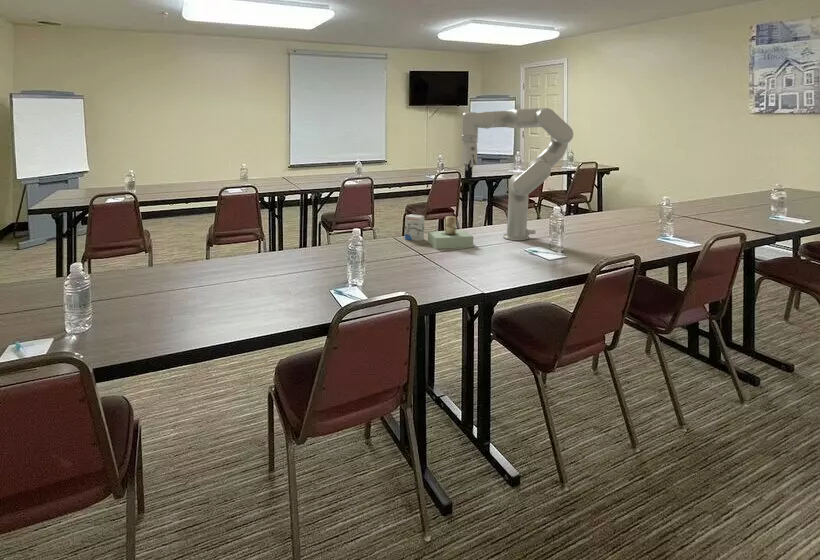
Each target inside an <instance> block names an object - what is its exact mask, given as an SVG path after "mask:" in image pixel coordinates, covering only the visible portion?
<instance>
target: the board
mask: <svg viewBox="0 0 820 560" xmlns="http://www.w3.org/2000/svg"><path fill="white" fill-rule="evenodd" d="M427 243H428V244H430V245H431V246H432V247H433V248H434V249H435V250H436V249H437V250H438V249H439V250H440V249H455V248H456V249H457V248H460V249H461V248H473V247H474V235H472V234H471V233H469V232H468V231H466V230H465V229H462V230H461V229H460V230H458V229H457V230H456V234H455V235H446V234H445V230H438V231H427Z"/></svg>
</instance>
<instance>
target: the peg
mask: <svg viewBox="0 0 820 560" xmlns="http://www.w3.org/2000/svg"><path fill="white" fill-rule="evenodd" d="M456 223H457V217H456V216H451V215H447V216H445V226H444V227H445V228H444V229H445V230H444V231H445V234H446V235H455V234H456V229H457V226H456V225H457V224H456Z"/></svg>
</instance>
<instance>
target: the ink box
mask: <svg viewBox="0 0 820 560" xmlns="http://www.w3.org/2000/svg"><path fill="white" fill-rule="evenodd" d="M425 217H426V216H425V215H420V214H412V213H410V214H408V215H405V219H404V220H405V221H404V240H408V241H410V240H411V241H416V242H422V241H423V240H424V239H425Z"/></svg>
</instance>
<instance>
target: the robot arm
mask: <svg viewBox="0 0 820 560" xmlns="http://www.w3.org/2000/svg"><path fill="white" fill-rule="evenodd" d="M461 120H462V121H461V143H462V149H461V150H462V151H461V163H462V164H463V166H464V179H465V180H472V179H473V168H474V167H475V166H474V165H477V164H478V139H479V138H478V136H479V135H478V134H479V128H480V129H486V130H488V129H491V128H492V129H493V128H494V129H495V128H511V129H528V128H543V130H544V131H545V132H546V133H547V134H549V137H550V143H548V146H547V147H546V148H544V150H543V151H541V152H540V154H538V155H537V156H536V157H535V158H533V159H532V160H531V161H530V162H529V163H528V165H527V168H526V170H525V171H523V173H521V172H517V173H515V174H513V175H512V176H511V177H510V178H509V181H508V201H507V202H508V203H507V204H508V206H507V218H506V219H507V221H506V226H507V227H506V233H504V234H503V236H502V237H503V239H505V240H509V241H526V239H527V240H528V239H530V235H535V234H536V233H537V232H536V230H535V229H532V230H531V229H528V228H527V225H528V213H529V212H528V211H529V194H531V193H532V192H534V191H535V190H536V189H537V188H538V187H539V186H540V185H542V184H543V183H544V182H545V181H546V180H547V179H548V178H549V177H550V175H551V173H552V168H553V167H554V166H555V165H556V164H557V163H558V162H559V161H561V160H562V158H563V157H564V156H565V153H566V152H567V149H568V144H569V143H570V142H571V141H572V140H573V137H574V131H573V129H572V127H571V126H570V125H569V124H568V123H567V122H566V121H565V120H564V119H562V118H561V117H560V116H559V115H558V114H557V113H556V112H555V110H553V109H551V108H548V107H540V108H538V107H537V108H517V109H509V110H497V111H495V110H494V111H482V112H475V111H467V112H463V113H462V116H461Z"/></svg>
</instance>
